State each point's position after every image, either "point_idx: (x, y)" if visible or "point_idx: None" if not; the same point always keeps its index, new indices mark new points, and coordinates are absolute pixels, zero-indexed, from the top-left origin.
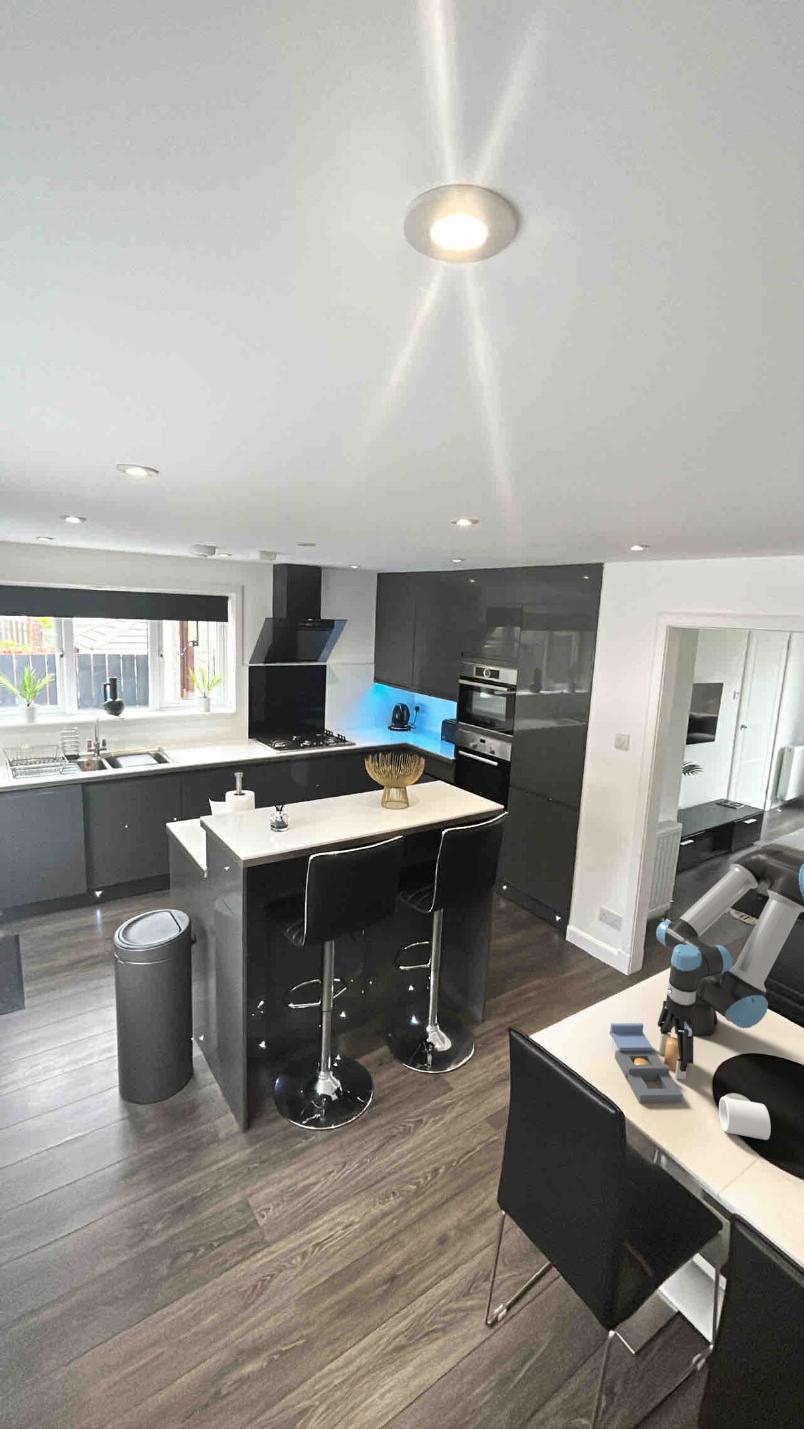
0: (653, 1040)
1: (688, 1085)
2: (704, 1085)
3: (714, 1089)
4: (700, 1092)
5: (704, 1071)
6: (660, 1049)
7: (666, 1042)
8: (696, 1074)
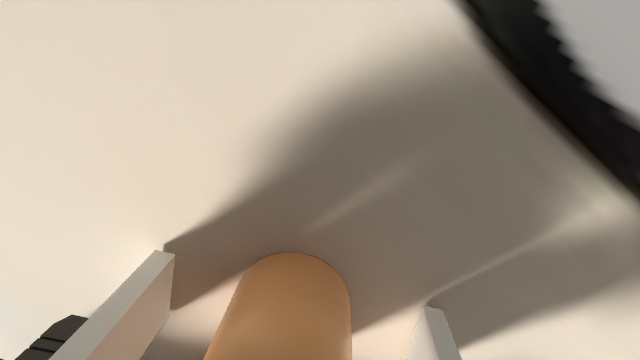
0: (12, 256)
1: (494, 317)
2: (541, 201)
3: (609, 151)
4: (584, 282)
5: (411, 82)
6: (148, 345)
7: (116, 357)
8: (420, 179)
